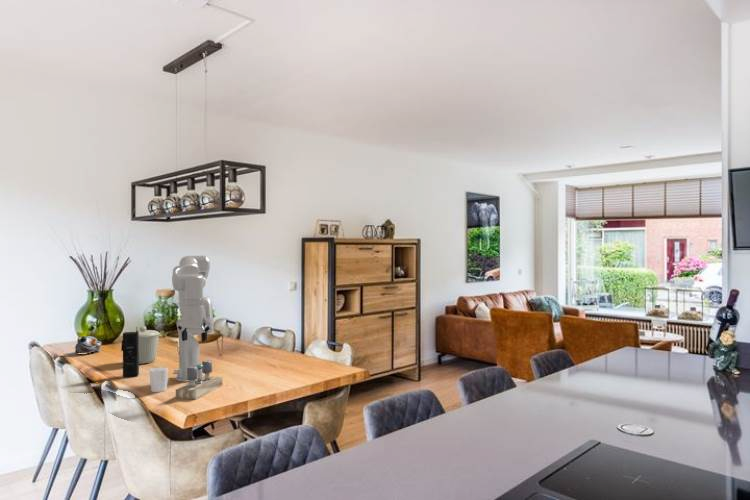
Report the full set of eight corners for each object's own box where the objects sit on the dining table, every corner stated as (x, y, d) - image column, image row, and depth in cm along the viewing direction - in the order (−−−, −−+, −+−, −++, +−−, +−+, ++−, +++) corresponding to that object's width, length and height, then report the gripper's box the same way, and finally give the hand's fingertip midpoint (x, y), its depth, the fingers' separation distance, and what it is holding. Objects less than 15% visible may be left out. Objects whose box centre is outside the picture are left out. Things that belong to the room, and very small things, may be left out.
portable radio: (120, 378, 248) (119, 329, 248) (123, 375, 254) (122, 327, 254) (137, 376, 250) (136, 328, 250) (139, 373, 256) (139, 326, 256)
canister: (159, 364, 278) (159, 327, 277) (124, 367, 271) (123, 329, 271) (160, 357, 294) (160, 323, 294) (127, 360, 288) (127, 325, 288)
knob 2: (200, 382, 228) (200, 362, 228) (205, 379, 232) (205, 359, 232) (208, 382, 227) (208, 362, 227) (213, 380, 231) (213, 360, 231)
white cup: (170, 387, 230) (170, 366, 230) (164, 392, 222) (164, 371, 222) (154, 388, 230) (153, 367, 230) (146, 393, 222) (146, 371, 222)
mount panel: (175, 398, 214) (175, 389, 214) (203, 384, 235) (203, 376, 235) (196, 399, 212) (195, 390, 212) (222, 385, 233) (222, 377, 233)
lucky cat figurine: (103, 350, 318) (106, 332, 313) (95, 361, 307) (98, 343, 302) (79, 344, 315) (82, 327, 310) (70, 355, 304) (73, 337, 299)
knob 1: (185, 389, 216) (184, 368, 216) (190, 386, 220) (190, 365, 220) (193, 390, 215) (193, 368, 215) (199, 387, 219) (199, 366, 219)
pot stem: (195, 383, 222) (195, 365, 222) (198, 381, 225) (198, 364, 225) (201, 383, 222) (200, 366, 222) (204, 382, 225) (204, 364, 225)
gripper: (171, 303, 216) (172, 341, 216) (206, 304, 212) (207, 343, 212) (181, 301, 223) (182, 338, 223) (215, 302, 220) (216, 339, 220)
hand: (194, 340), depth 218 cm, fingers open, 9 cm apart
